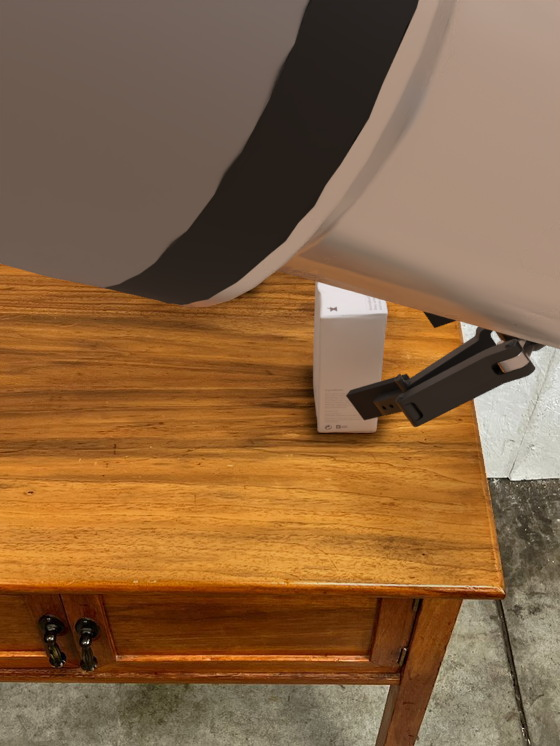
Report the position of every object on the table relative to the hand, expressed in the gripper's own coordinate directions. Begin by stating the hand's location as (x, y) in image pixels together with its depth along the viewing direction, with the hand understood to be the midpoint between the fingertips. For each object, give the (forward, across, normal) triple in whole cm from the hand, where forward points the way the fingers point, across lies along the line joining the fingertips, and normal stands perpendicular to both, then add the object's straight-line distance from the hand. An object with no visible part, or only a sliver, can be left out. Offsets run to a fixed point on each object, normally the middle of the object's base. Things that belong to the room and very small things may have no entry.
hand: (394, 357), depth 69 cm
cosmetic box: (+10, 0, -3) cm, 10 cm away
